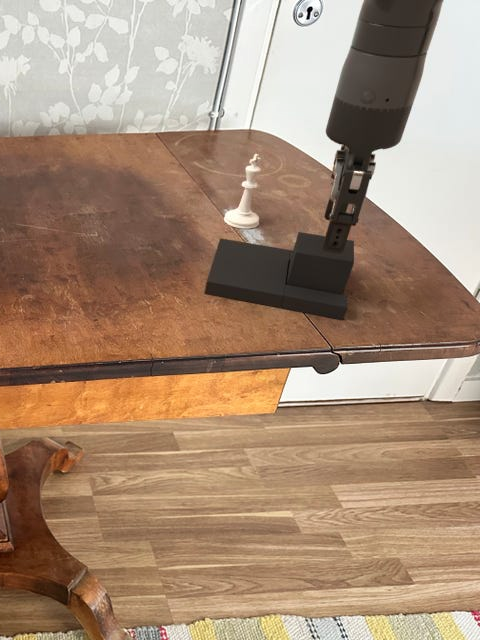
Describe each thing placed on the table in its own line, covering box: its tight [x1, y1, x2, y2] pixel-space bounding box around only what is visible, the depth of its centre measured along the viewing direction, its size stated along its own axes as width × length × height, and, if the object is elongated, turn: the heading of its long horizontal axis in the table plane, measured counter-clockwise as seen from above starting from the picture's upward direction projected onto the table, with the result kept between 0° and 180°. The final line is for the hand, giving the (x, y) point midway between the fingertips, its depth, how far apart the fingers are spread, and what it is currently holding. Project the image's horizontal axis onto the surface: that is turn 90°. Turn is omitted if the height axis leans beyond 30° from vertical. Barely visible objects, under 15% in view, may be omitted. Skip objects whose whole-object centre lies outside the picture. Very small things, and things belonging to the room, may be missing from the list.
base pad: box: [204, 237, 348, 321], centre depth 88 cm, size 16×12×2 cm
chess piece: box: [223, 153, 262, 230], centre depth 99 cm, size 5×5×10 cm
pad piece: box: [286, 231, 355, 295], centre depth 86 cm, size 6×6×6 cm
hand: (332, 234), depth 83 cm, fingers open, 8 cm apart
